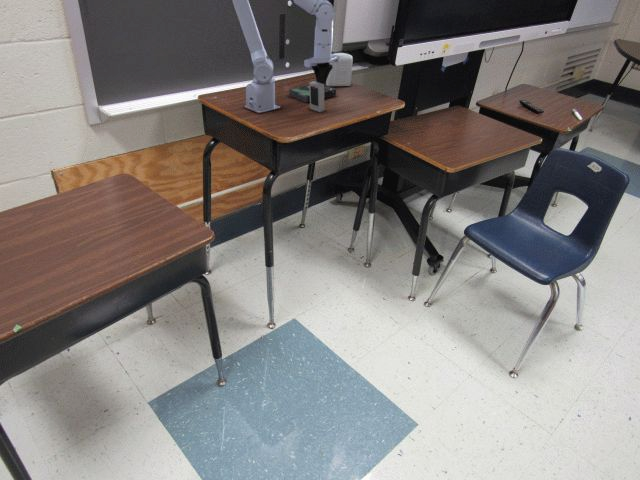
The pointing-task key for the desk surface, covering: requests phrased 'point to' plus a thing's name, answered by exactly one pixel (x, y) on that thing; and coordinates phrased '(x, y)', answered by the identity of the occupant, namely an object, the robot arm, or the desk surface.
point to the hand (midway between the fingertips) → (321, 86)
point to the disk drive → (304, 93)
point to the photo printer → (340, 71)
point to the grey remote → (316, 96)
